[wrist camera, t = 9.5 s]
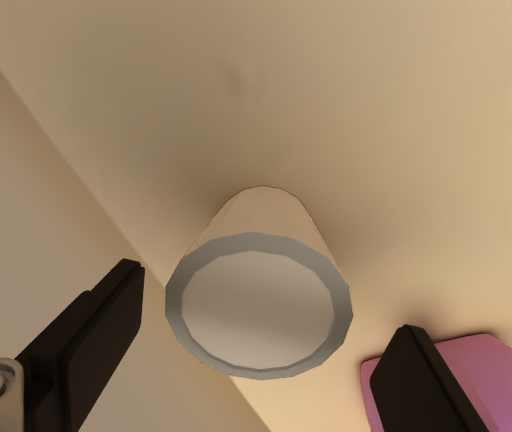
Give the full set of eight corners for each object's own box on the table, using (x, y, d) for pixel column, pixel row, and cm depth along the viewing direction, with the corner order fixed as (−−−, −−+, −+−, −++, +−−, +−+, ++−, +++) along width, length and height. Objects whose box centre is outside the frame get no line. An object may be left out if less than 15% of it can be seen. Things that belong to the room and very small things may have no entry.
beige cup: (238, 292, 18) (218, 398, 12) (185, 204, 16) (124, 276, 10) (339, 257, 17) (378, 357, 10) (295, 154, 14) (312, 199, 8)
